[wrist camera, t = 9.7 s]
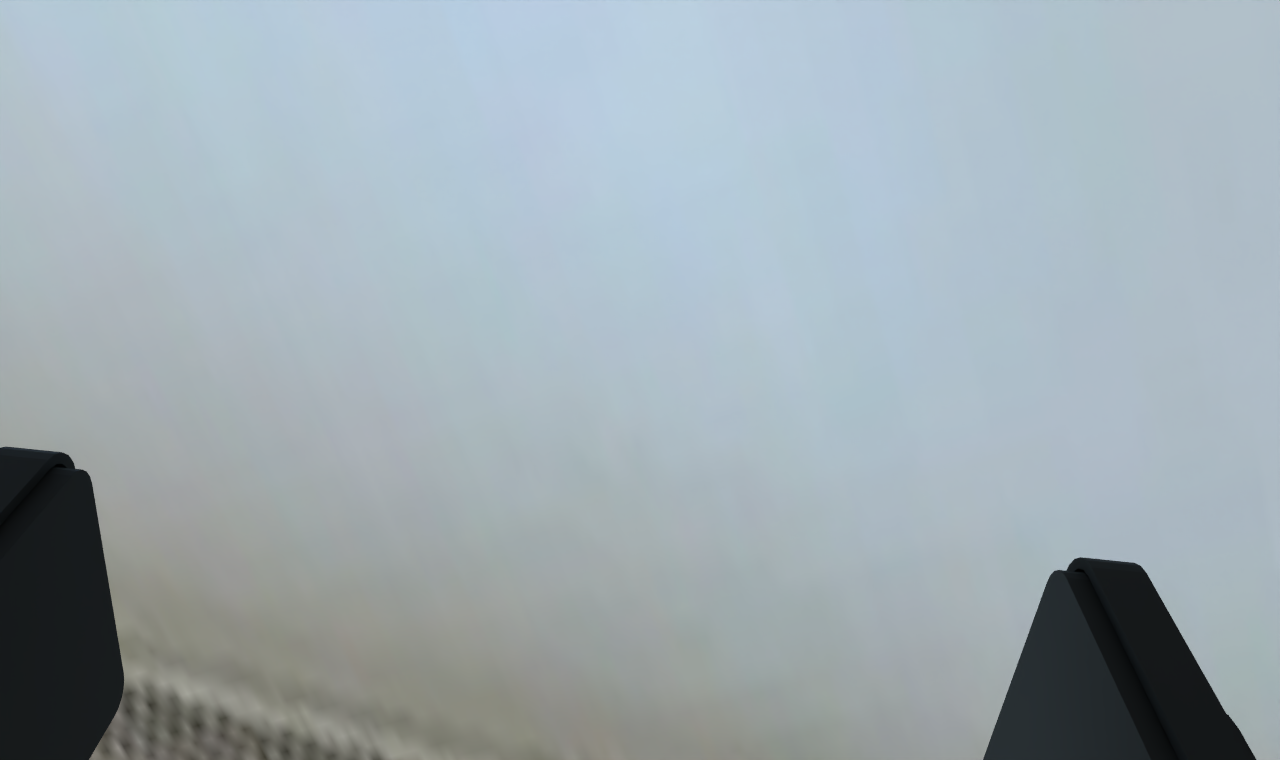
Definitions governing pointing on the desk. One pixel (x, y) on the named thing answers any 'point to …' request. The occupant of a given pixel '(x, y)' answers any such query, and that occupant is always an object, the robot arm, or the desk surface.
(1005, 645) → the desk surface
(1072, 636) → the robot arm
